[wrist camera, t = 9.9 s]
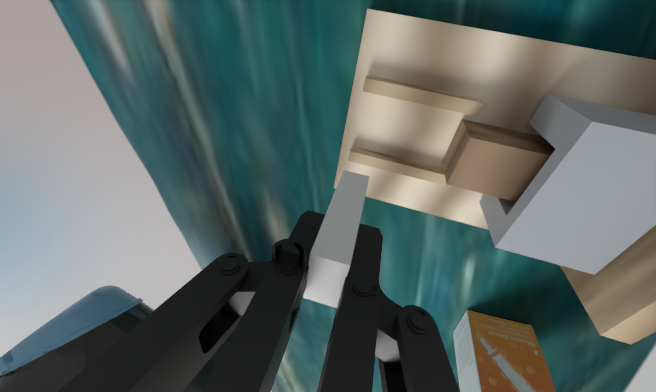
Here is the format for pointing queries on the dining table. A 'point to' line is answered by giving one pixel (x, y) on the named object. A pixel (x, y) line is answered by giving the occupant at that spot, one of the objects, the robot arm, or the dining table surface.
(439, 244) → the dining table surface
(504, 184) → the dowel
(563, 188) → the carriage
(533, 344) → the small box
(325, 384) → the robot arm
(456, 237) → the dining table surface
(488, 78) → the jig
